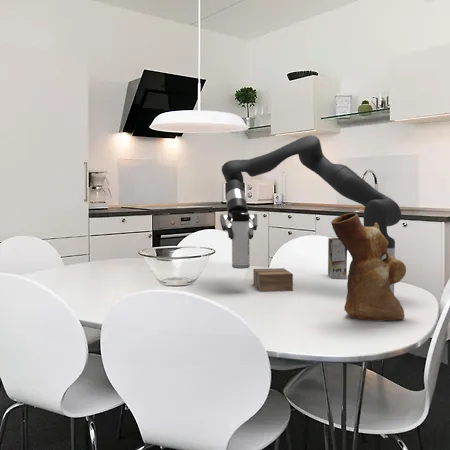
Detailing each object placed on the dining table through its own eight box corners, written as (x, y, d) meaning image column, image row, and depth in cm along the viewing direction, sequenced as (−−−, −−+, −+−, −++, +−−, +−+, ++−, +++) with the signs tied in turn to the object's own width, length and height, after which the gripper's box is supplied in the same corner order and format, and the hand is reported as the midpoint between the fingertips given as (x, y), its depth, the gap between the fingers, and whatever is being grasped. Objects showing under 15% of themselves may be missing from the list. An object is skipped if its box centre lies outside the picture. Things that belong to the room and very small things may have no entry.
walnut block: (292, 290, 188) (292, 274, 187) (260, 291, 186) (260, 274, 186) (283, 283, 202) (283, 268, 201) (253, 284, 200) (253, 268, 200)
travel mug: (228, 266, 188) (228, 211, 186) (245, 265, 190) (244, 211, 189) (235, 269, 182) (235, 212, 180) (252, 268, 184) (252, 212, 183)
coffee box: (347, 278, 213) (347, 239, 212) (331, 278, 213) (332, 239, 212) (342, 275, 222) (343, 237, 221) (327, 275, 222) (328, 237, 221)
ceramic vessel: (415, 322, 143) (418, 213, 141) (342, 326, 138) (343, 214, 136) (386, 309, 158) (388, 211, 156) (319, 312, 154) (320, 212, 152)
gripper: (218, 196, 191) (222, 231, 180) (256, 196, 193) (262, 230, 182) (216, 210, 196) (220, 245, 186) (254, 210, 198) (260, 244, 187)
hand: (241, 237), depth 184 cm, fingers closed on travel mug, 6 cm apart
